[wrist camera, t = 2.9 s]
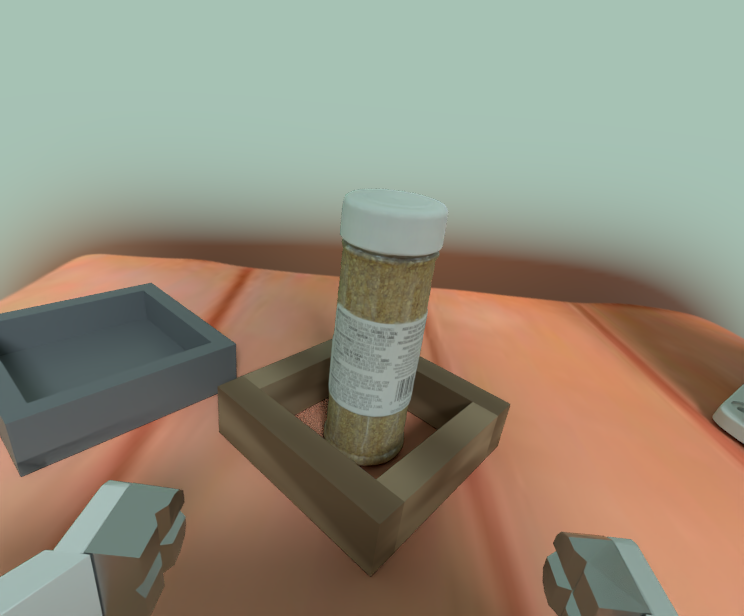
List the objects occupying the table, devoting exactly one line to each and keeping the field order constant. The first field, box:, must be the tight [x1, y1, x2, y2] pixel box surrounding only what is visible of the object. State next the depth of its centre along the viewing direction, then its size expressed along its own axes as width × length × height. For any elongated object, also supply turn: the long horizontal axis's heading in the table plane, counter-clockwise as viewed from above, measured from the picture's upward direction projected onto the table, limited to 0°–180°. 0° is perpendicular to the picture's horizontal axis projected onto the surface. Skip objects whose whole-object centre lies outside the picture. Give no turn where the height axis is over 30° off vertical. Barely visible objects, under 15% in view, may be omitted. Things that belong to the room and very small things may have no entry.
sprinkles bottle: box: [324, 189, 448, 466], centre depth 22 cm, size 5×5×13 cm
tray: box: [0, 283, 237, 477], centre depth 26 cm, size 11×11×3 cm
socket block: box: [218, 339, 510, 577], centre depth 24 cm, size 11×11×3 cm
